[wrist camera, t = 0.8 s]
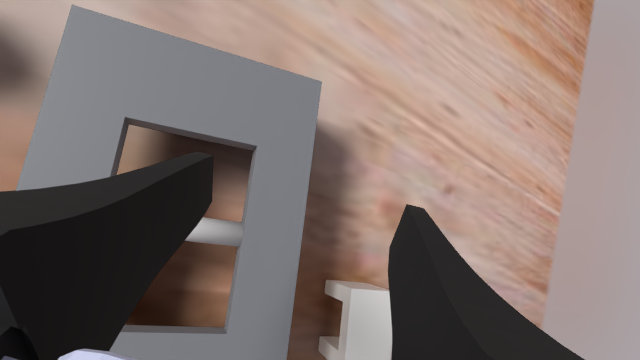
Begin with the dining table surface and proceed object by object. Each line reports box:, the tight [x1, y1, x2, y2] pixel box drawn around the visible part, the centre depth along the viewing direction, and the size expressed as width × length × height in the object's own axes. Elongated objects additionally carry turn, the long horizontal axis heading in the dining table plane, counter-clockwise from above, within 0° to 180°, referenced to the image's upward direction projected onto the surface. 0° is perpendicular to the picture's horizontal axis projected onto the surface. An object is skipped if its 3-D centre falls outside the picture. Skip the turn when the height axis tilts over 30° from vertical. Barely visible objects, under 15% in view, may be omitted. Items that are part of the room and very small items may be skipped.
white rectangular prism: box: [318, 280, 392, 360], centre depth 28 cm, size 6×4×5 cm, turn 173°
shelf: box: [16, 5, 322, 360], centre depth 23 cm, size 24×16×6 cm, turn 172°
